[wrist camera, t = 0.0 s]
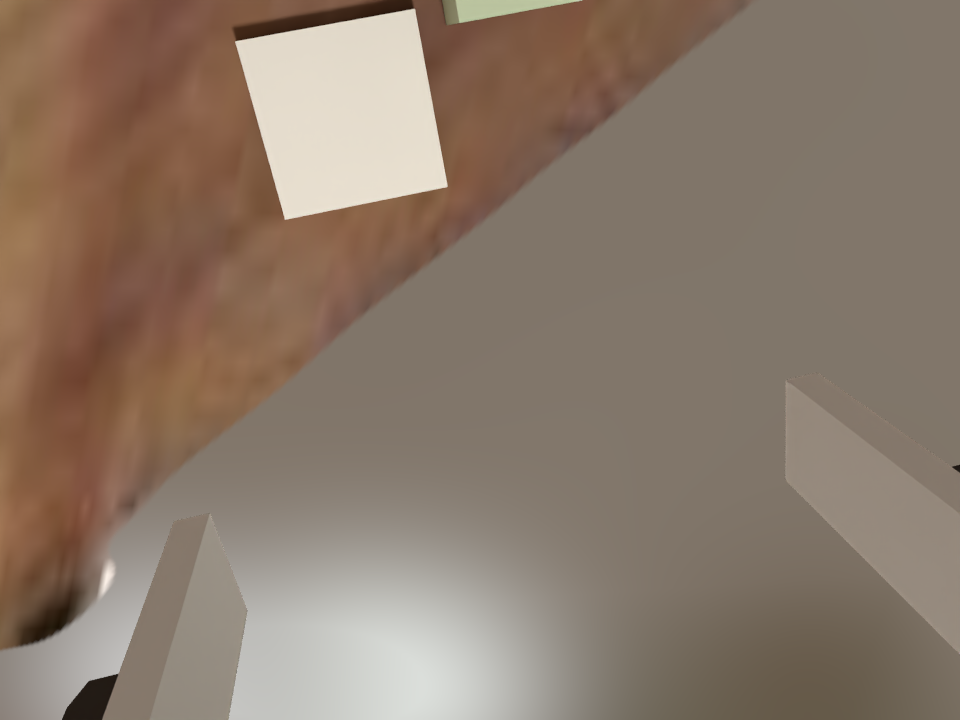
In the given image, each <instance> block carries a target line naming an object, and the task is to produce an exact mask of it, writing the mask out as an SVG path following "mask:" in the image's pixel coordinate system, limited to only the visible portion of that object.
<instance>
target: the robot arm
mask: <svg viewBox="0 0 960 720" xmlns="http://www.w3.org/2000/svg"><path fill="white" fill-rule="evenodd" d="M785 423H786V424H785V425H786V426H785V427H786V428H785V429H786V430H785V439H786V440H785V441H786V442H785V480H786V481H787V482H788V483H789V484H790V485H791V486H792V487H793V488H794V489H795V490H796V491H797V492H798V493H799V494H800V495H801V496H802V497H803V498H804V499H805V500H806V501H807V502H808V503H809V504H810V505H811V506H812V507H813V508H814V509H815V510H816V511H817V512H818V513H819V514H820V515H821V516H822V517H823V518H824V519H825V520H826V521H827V522H828V523H829V524H830V525H831V526H832V527H833V528H834V529H835V530H836V531H837V532H838V533H839V534H840V535H841V536H842V537H843V538H844V539H845V540H846V541H847V542H848V543H849V544H850V545H851V546H852V547H853V548H854V549H855V550H856V551H857V552H858V553H859V554H860V555H861V556H862V557H863V558H864V559H865V560H866V561H867V562H868V563H869V564H870V565H871V566H872V567H873V568H874V569H875V570H876V571H877V572H878V573H879V574H880V575H881V576H882V577H883V578H884V579H885V580H886V581H887V582H888V583H889V584H890V585H891V586H892V587H893V588H894V589H895V590H896V591H897V592H898V593H899V594H900V595H901V596H902V597H903V598H904V599H905V600H906V601H907V602H908V603H909V604H910V605H911V606H912V607H913V608H914V609H915V610H916V611H917V612H918V613H919V614H920V615H921V616H922V617H923V618H924V619H925V620H926V621H927V622H928V623H929V624H930V625H931V626H932V627H933V628H934V629H935V630H936V631H937V632H938V633H939V634H940V635H941V636H942V637H943V638H944V639H945V640H946V641H947V642H948V643H949V644H950V645H951V646H952V647H953V648H954V649H955V650H956V651H957V652H958V653H959V654H960V465H957V466H953V467H950V466H949V465H948V464H946V463H945V462H943V461H942V460H941V459H939V458H938V457H937V456H935V455H934V454H932V453H931V452H929V451H928V450H927V449H925V448H924V447H922V446H921V445H919V444H918V443H917V442H915V441H914V440H912V439H911V438H909V437H908V436H907V435H905V434H904V433H902V432H901V431H900V430H898V429H897V428H895V427H894V426H892V425H891V424H890V423H888V422H887V421H885V420H884V419H882V418H881V417H880V416H878V415H877V414H875V413H874V412H873V411H871V410H870V409H868V408H867V407H865V406H864V405H862V404H861V403H860V402H858V401H857V400H856V399H854V398H853V397H851V396H850V395H848V394H847V393H846V392H844V391H843V390H841V389H840V388H838V387H837V386H836V385H834V384H833V383H831V382H830V381H828V380H827V379H826V378H824V377H823V376H821V375H820V374H819V373H812V374H809V375H804V376H799V377H795V378H791V379H787V380H786V422H785ZM246 616H247V608H246V605H245V603H244V600H243V598H242V595H241V592H240V590H239V587H238V585H237V582H236V579H235V577H234V574H233V572H232V569H231V567H230V564H229V561H228V559H227V556H226V554H225V551H224V548H223V546H222V543H221V540H220V538H219V535H218V533H217V530H216V528H215V525H214V522H213V520H212V517H211V515H210V513H208V514H203V515H199V516H195V517H190V518H186V519H181V520H177V521H174V522H173V525H172V528H171V531H170V534H169V536H168V539H167V542H166V545H165V547H164V551H163V553H162V556H161V558H160V561H159V564H158V567H157V569H156V572H155V575H154V578H153V581H152V583H151V586H150V589H149V592H148V594H147V597H146V600H145V603H144V605H143V608H142V611H141V614H140V617H139V619H138V622H137V625H136V627H135V630H134V633H133V636H132V639H131V641H130V644H129V647H128V650H127V652H126V655H125V658H124V661H123V663H122V666H121V669H120V672H119V674H116V675H112V676H108V677H104V678H100V679H95V680H92V681H89V682H88V683H87V684H86V685H85V687H84V688H83V689H82V690H81V692H80V693H79V694H78V695H77V696H76V698H75V699H74V700H73V701H72V702H71V704H70V705H69V706H68V707H67V709H66V711H65V714H64V716H63V718H62V720H228V719H229V713H230V707H231V701H232V696H233V690H234V684H235V679H236V673H237V667H238V661H239V656H240V650H241V645H242V639H243V633H244V628H245V621H246Z"/></svg>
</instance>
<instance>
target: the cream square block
mask: <svg viewBox="0 0 960 720" xmlns="http://www.w3.org/2000/svg"><path fill="white" fill-rule="evenodd" d="M235 42H236V45H237V49H238V53H239V56H240V60H241V63H242V67H243V71H244V74H245V78H246V81H247V85H248V88H249V92H250V96H251V99H252V103H253V106H254V110H255V113H256V117H257V121H258V124H259V128H260V131H261V135H262V139H263V142H264V146H265V149H266V153H267V156H268V160H269V164H270V167H271V171H272V174H273V178H274V181H275V185H276V189H277V192H278V196H279V199H280V203H281V207H282V210H283V214H284V217H285V220H286V219H291V218H296V217H301V216H306V215H311V214H316V213H321V212H325V211H330V210H335V209H340V208H345V207H350V206H355V205H360V204H365V203H370V202H375V201H380V200H385V199H390V198H395V197H400V196H405V195H410V194H415V193H420V192H424V191H429V190H434V189H439V188H444V187H448V186H447V181H446V175H445V170H444V165H443V159H442V154H441V148H440V143H439V137H438V132H437V127H436V121H435V116H434V110H433V105H432V99H431V94H430V89H429V83H428V78H427V72H426V67H425V61H424V56H423V51H422V45H421V40H420V34H419V29H418V23H417V18H416V13H415V9H411V10H405V11H400V12H394V13H389V14H383V15H378V16H372V17H367V18H361V19H356V20H350V21H345V22H339V23H334V24H328V25H323V26H317V27H312V28H306V29H301V30H295V31H290V32H284V33H279V34H273V35H268V36H262V37H257V38H251V39H246V40H240V41H235Z"/></svg>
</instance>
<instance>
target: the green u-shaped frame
mask: <svg viewBox="0 0 960 720" xmlns="http://www.w3.org/2000/svg"><path fill="white" fill-rule="evenodd" d="M576 1H581V0H442V3H443V9H444V15H445V21H446V25H450V24H456V23H462V22H467V21H473V20H478V19H483V18H489V17H494V16H500V15H505V14H511V13H516V12H521V11H527V10H532V9H538V8H543V7H549V6H554V5H559V4H565V3H570V2H576Z"/></svg>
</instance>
